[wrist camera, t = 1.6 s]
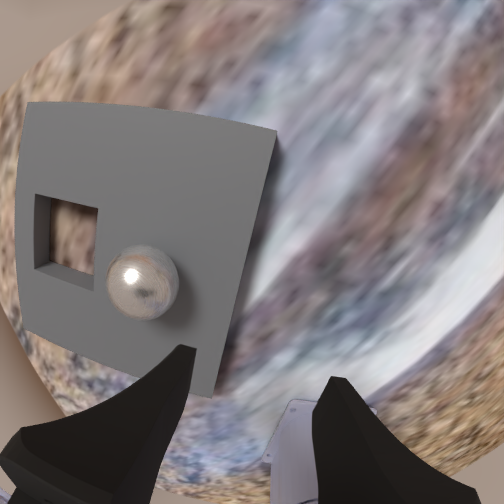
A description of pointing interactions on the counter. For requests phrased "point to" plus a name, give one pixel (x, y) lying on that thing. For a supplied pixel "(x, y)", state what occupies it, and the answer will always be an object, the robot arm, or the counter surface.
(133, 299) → the steel ball
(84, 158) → the hole board
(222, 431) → the counter surface
